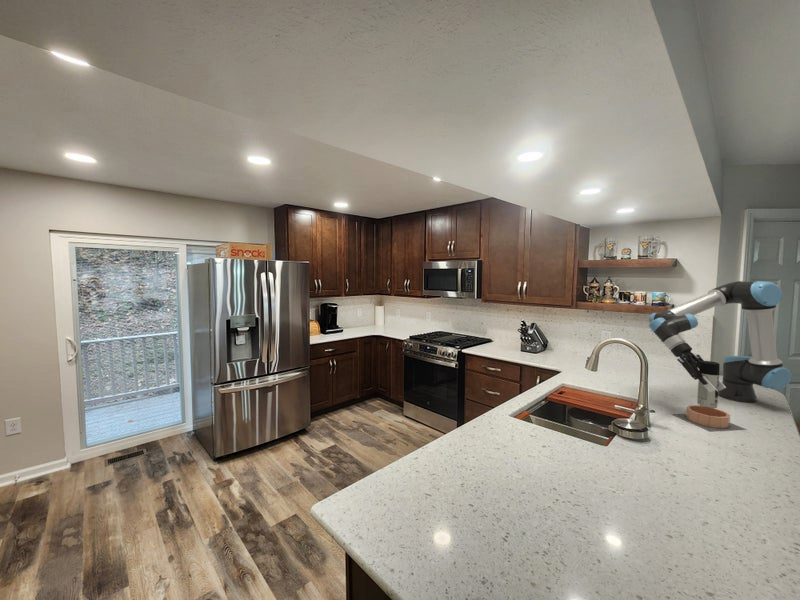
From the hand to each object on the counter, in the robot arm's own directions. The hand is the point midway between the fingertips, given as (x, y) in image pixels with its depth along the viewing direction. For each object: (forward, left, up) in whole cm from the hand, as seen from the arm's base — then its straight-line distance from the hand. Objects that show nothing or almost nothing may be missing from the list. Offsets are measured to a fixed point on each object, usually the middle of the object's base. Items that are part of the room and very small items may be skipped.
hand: (718, 389), depth 145 cm
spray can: (+1, -4, -9) cm, 9 cm away
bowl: (+1, -3, -16) cm, 16 cm away
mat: (+1, -3, -16) cm, 17 cm away
